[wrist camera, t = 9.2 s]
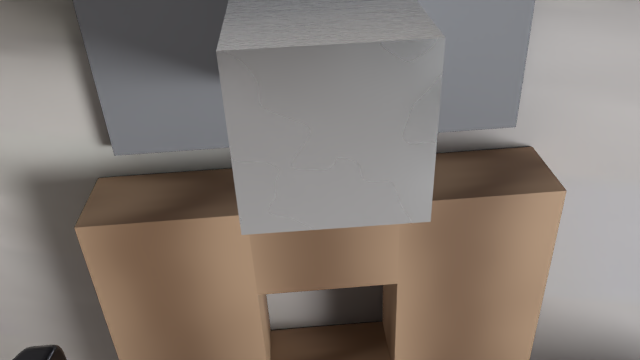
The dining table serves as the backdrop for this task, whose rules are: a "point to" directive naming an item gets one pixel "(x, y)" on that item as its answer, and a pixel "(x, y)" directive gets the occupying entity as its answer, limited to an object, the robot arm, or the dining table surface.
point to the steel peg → (330, 112)
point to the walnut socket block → (325, 267)
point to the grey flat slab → (204, 81)
